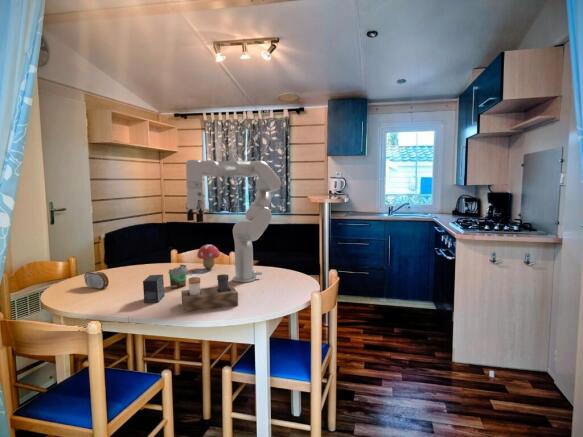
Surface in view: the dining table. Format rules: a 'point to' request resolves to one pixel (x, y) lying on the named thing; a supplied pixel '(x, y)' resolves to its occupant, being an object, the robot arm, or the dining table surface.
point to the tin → (96, 280)
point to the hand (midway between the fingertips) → (195, 221)
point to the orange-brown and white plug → (194, 286)
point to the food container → (178, 277)
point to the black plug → (222, 282)
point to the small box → (153, 289)
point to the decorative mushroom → (208, 255)
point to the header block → (209, 299)
